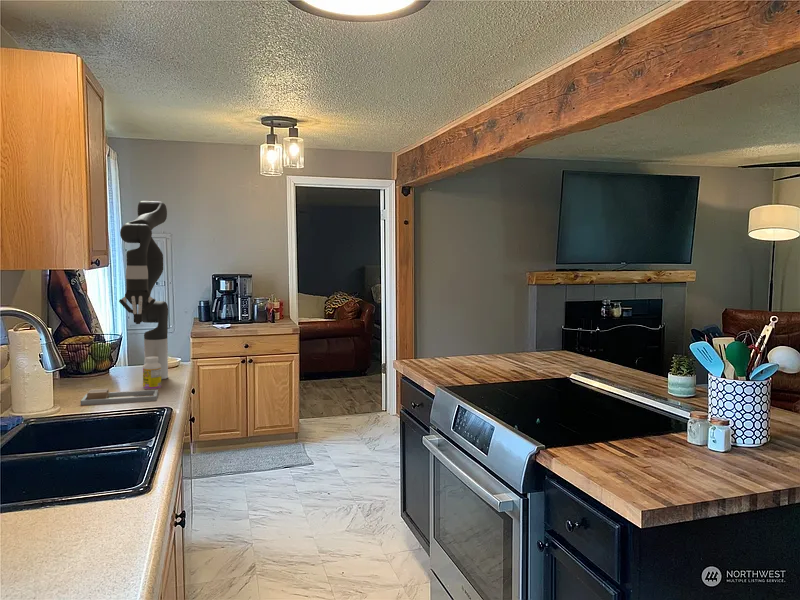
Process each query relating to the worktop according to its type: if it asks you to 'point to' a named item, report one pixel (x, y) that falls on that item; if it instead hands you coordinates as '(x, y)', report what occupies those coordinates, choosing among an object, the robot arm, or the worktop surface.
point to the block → (98, 394)
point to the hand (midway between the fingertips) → (137, 323)
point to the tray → (123, 397)
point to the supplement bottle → (151, 373)
